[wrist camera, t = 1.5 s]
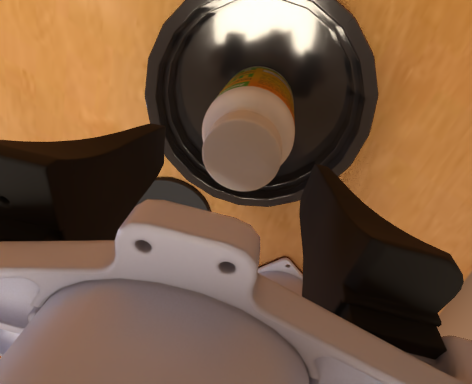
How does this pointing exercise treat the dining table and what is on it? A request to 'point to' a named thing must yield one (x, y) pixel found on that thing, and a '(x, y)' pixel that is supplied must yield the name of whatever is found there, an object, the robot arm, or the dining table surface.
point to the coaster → (175, 193)
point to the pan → (274, 57)
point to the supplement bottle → (249, 129)
